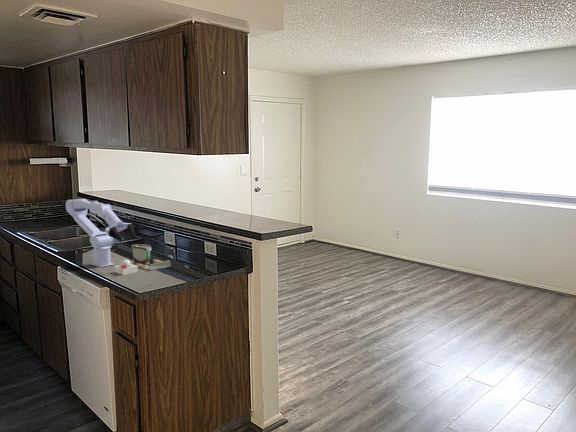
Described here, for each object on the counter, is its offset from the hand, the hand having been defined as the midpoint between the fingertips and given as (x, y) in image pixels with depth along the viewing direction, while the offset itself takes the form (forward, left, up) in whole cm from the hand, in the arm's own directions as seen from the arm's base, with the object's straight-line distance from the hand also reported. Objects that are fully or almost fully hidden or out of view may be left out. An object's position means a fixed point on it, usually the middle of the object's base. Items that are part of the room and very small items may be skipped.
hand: (128, 238), depth 237 cm
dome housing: (0, -1, -17) cm, 17 cm away
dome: (0, -1, -15) cm, 15 cm away
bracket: (-1, +15, -17) cm, 22 cm away
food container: (-8, +15, -17) cm, 24 cm away
